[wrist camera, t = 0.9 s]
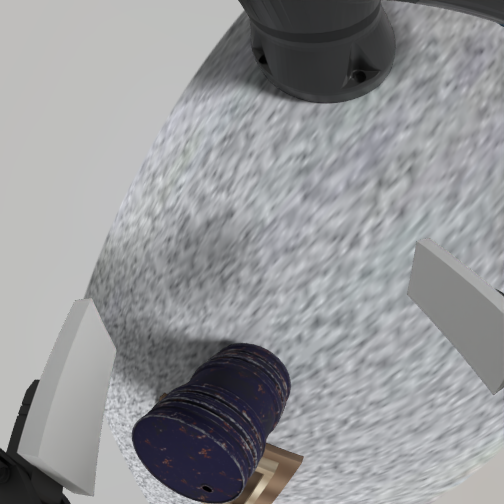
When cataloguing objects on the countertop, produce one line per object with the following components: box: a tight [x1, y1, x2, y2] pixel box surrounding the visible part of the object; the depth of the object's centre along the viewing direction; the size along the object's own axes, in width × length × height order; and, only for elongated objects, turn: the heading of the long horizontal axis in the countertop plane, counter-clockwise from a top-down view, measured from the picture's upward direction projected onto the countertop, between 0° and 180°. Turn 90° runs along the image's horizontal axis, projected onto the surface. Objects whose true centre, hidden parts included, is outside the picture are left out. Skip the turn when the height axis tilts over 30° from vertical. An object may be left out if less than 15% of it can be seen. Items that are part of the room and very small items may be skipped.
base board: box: [159, 393, 303, 504], centre depth 33 cm, size 18×20×3 cm
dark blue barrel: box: [132, 343, 291, 504], centre depth 25 cm, size 10×10×15 cm
